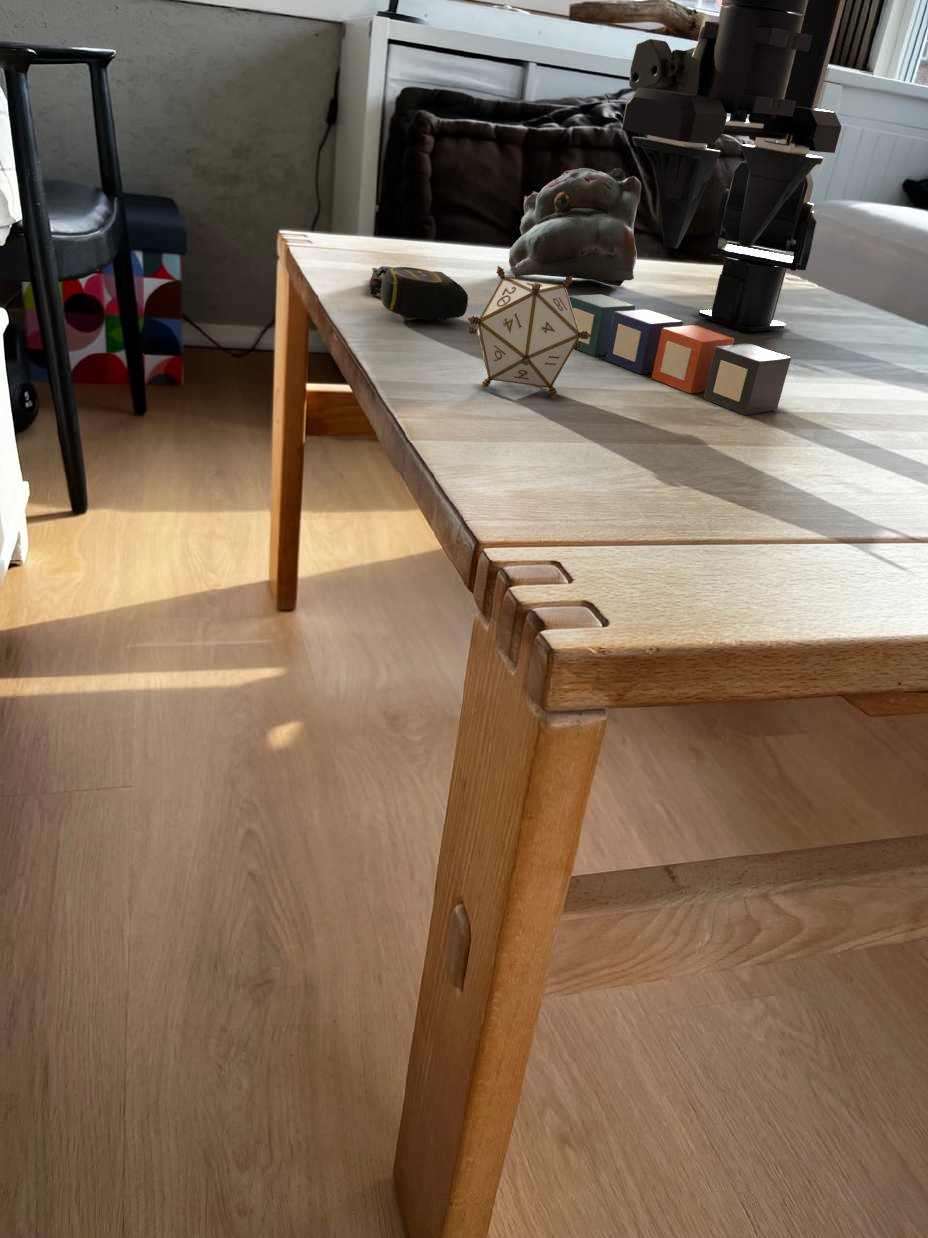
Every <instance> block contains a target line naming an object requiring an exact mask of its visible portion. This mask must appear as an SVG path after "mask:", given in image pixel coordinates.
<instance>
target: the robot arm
mask: <svg viewBox="0 0 928 1238" xmlns="http://www.w3.org/2000/svg"><path fill="white" fill-rule="evenodd" d="M845 3H846V0H722V1H721V6H720V10H719V15H718V20H717V21H707V20H705V21H704V25H703V26H702V27H701V28H700V30H699V33H698V38H697V43H696V45H695V47H692V48H689V49H686V50H682V49H674V50H671V47H670V45H669V43H668V42H667V41H666V40H660V39H654V38H649V39H646V40H643V41H641V42H639V43H637V44H635V48H634V49H635V50H634V53H633V56H632V61H631V66H630V70H629V73H630V74H629V75H630V76H629V77H630V78H629V81H628V85H629V88H631V89H632V90H633V94H632V95H630V96H629V97H628V98H627V100H626V103H625V109H624V114H623V120H622V125H621V131H625V132H630V133H636V134H640V135H645V136H646V137H642V136H632V138H631V139H632V142H633V145H634V146H636V147H640V148H641V149H642V151H643V152H644V154H645V155H646V157H647V158H648V160H649V161H650V163H651V165H652V167H653V170H654V176H655V180H656V186H657V187H656V188H657V193H658V202H659V212H660V222H661V229H662V240H663V245H664V246H665V247H667V248H670V249H678V248H679V246H680V244H681V243H682V241H683V239H684V237H685V235H686V233H687V231H688V229H689V227H690V224H691V222H692V220H693V218H694V215H695V213H696V210H697V208H698V206H699V203H700V201H701V199H702V196H703V194H704V191H705V190H706V188H707V185H708V183H709V181H710V179H711V176H712V173H713V171H714V169H715V167H716V164H717V162H718V160H719V157H720V156H721V150H718V149H717V150H716V149H711V148H707V147H708V145H715V143H717V141H718V139H719V138H720V137H721V136H722V135H723V136H735V137H746V138H747V137H748V139H749V140H750V141H754V144H753V145H752V144H740V149H741V152H742V154H743V156H744V159H745V160H744V161H741V162H740V164H739V165H738V166H737V167H736V169H735V170H734V173H733V176H732V179H731V183H730V186H729V189H728V188H726V189H725V190H724V192H723V193H722V197H721V199H720V203H719V206H718V211H717V216H716V221H715V222H716V223H715V229H714V235H713V241H712V247H711V248H712V249H711V253H710V255H711V256H715V257H717V256H721V257H724V260H723V265H722V268H721V273H720V274H719V277H718V281H717V285H716V290H715V294H714V297H713V303H712V306H711V309H710V310H709V309H708V310H700V311H698V316H699V317H700V318H705V319H707V320H710V321H713V322H716V323H719V324H722V325H725V326H729V327H732V328H734V329H738V330H741V331H744V332H747V333H748V332H749V333H750V332H751V333H753V332H761V331H764V332H765V331H772V330H783V329H785V328H786V323H784V322H781V321H778V320H774V317H775V314H776V310H777V307H778V303H779V300H780V299H779V298H780V295H781V292H782V288H783V285H784V281H785V278H786V277H785V276H786V273H787V270H790V271H793V272H797V271H807V268H808V265H809V261H810V257H811V253H812V249H813V245H814V239H815V234H816V229H817V224H818V221H817V219H816V218H815V211H814V209H815V204H814V203H810V201H811V198H812V194H813V189H814V181H813V176H812V173H811V172H812V170H813V169H814V168H815V167H816V166H819V165H821V164H822V163H823V160H824V157H822V156H818V155H812V154H809V153H810V152H815V153H829V154H835V153H836V150H837V146H838V142H839V139H840V134H841V131H842V127H843V126H842V124H841V122H840V120H839V118H838V116H837V113H836V112H835V111H830V110H825V109H819V108H818V105H819V101H820V97H821V94H822V91H823V86H824V83H825V79H826V75H827V71H828V67H829V64H830V60H831V56H832V53H833V49H834V45H835V41H836V37H837V33H838V29H839V26H840V22H841V18H842V15H843V11H844V7H845ZM728 114H729V117H728ZM729 243H733V244H736V245H733V244H729ZM737 244H738V245H741V246H737ZM749 247H754V248H759V249H764V250H769V251H775V252H780V254H779V253H774V252H769V251H764V250H759V249H754V248H749ZM781 253H785V254H788V253H793V255H792V256H790V255H785V254H781Z"/></svg>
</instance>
